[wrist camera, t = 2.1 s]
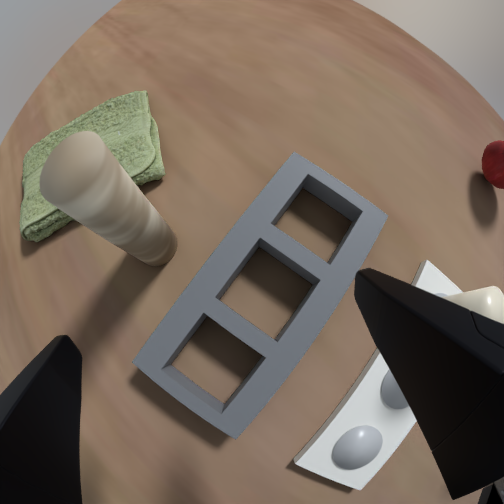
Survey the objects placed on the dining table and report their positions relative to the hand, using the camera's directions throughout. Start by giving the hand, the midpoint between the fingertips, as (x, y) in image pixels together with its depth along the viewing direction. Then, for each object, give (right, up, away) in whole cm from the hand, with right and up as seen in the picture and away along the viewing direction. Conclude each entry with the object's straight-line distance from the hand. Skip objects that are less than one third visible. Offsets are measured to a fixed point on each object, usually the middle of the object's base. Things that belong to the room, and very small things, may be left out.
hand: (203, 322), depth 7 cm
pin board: (+2, -1, +14) cm, 14 cm away
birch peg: (-6, +3, +15) cm, 16 cm away
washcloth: (-16, +11, +17) cm, 26 cm away
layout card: (+14, -9, +12) cm, 20 cm away
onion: (+31, +11, +17) cm, 37 cm away
